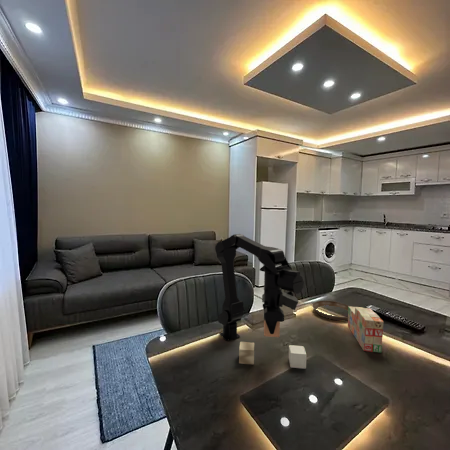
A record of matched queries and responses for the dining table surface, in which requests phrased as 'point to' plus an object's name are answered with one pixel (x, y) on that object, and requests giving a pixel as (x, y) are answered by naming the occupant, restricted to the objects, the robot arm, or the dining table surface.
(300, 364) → the off-white cube
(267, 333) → the terracotta cube
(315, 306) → the plant saucer
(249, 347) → the birch cube
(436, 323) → the dining table surface
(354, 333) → the stack of blocks
